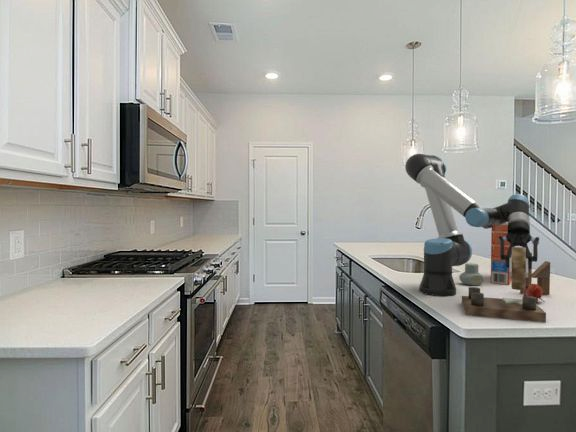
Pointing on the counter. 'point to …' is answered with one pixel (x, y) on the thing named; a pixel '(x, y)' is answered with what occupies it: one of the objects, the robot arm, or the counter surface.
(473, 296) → the wooden board with knobs
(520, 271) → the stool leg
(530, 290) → the pomegranate
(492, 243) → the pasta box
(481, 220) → the robot arm
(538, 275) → the brown wooden angled piece
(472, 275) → the air freshener
